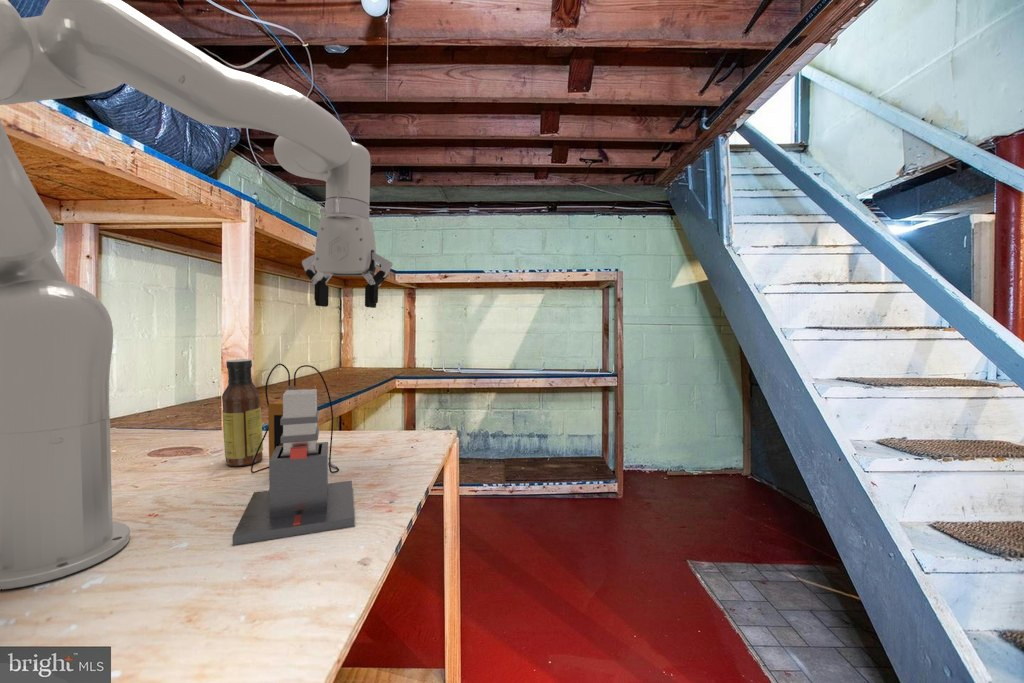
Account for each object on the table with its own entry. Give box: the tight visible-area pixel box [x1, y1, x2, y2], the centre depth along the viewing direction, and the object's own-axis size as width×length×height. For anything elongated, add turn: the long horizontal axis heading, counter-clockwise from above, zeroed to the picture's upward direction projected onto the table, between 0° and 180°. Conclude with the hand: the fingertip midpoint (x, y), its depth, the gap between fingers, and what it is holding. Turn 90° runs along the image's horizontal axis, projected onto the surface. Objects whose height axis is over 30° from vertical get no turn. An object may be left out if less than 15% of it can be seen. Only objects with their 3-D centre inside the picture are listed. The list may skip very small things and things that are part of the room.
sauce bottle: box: [221, 358, 264, 467], centre depth 80 cm, size 7×6×20 cm
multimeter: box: [250, 363, 340, 474], centre depth 78 cm, size 15×10×20 cm
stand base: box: [232, 441, 356, 546], centre depth 60 cm, size 14×14×10 cm
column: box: [280, 388, 320, 458], centre depth 60 cm, size 5×5×16 cm
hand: (346, 306), depth 78 cm, fingers open, 9 cm apart
